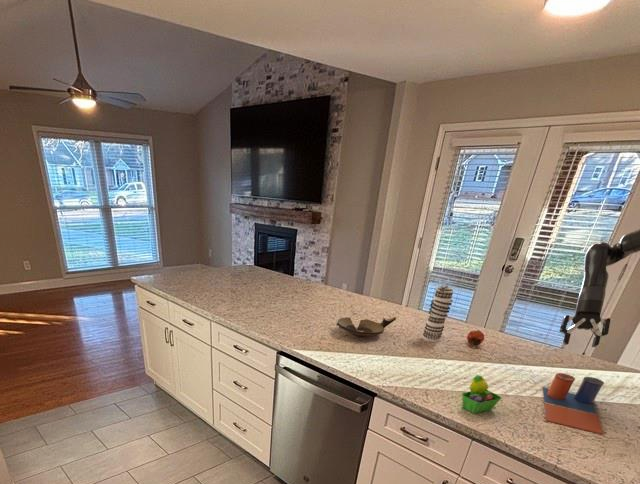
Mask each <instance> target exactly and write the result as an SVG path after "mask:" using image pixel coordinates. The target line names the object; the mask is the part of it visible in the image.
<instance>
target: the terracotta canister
mask: <svg viewBox="0 0 640 484" xmlns="http://www.w3.org/2000/svg"><path fill="white" fill-rule="evenodd" d="M575 380H576V378H575V377H574V376H573V375H571V374H568V373H563V372H557V373H555V375H554V378H553V380H552V381H551V383H550V386H549V390H548V392H547V395H548V396H549V397H551V398H554V399H559V400H563V399H565V398H566V396H567V394H568V393H570V390H571V387H573V384H574V382H575Z"/></svg>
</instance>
